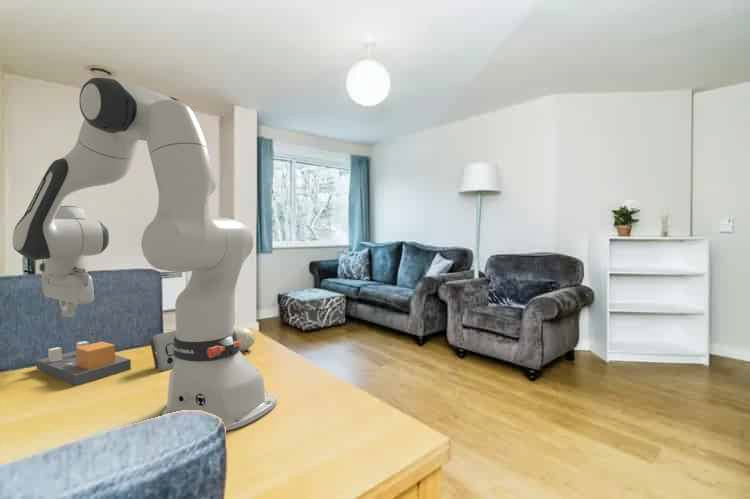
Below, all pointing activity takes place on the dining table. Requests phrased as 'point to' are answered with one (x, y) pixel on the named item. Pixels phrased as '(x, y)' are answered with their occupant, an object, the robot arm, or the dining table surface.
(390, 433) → the dining table surface
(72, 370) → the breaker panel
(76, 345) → the tagged toggle
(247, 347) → the baseball
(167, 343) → the electrical switch
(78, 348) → the cap
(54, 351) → the plain toggle
